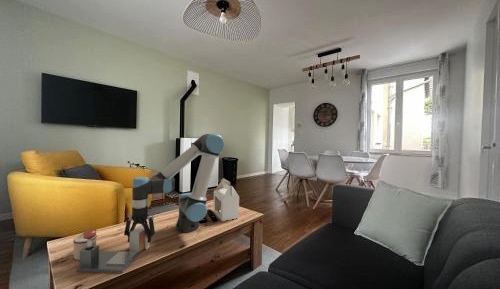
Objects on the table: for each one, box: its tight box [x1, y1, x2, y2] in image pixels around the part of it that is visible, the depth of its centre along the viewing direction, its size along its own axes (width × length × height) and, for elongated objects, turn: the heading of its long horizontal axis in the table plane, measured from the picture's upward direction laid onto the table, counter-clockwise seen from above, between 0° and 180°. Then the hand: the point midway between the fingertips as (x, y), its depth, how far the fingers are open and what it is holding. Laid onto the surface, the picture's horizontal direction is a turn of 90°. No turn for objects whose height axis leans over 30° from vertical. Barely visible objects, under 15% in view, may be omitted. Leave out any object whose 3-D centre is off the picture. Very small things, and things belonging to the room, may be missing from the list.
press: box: [76, 244, 140, 274], centre depth 97 cm, size 20×14×8 cm
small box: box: [129, 225, 147, 253], centre depth 110 cm, size 8×6×10 cm
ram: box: [82, 228, 97, 250], centre depth 94 cm, size 5×5×10 cm
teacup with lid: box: [73, 233, 97, 261], centre depth 104 cm, size 12×9×12 cm
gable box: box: [212, 178, 240, 222], centre depth 162 cm, size 22×13×28 cm, turn 27°
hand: (139, 247), depth 110 cm, fingers open, 8 cm apart
